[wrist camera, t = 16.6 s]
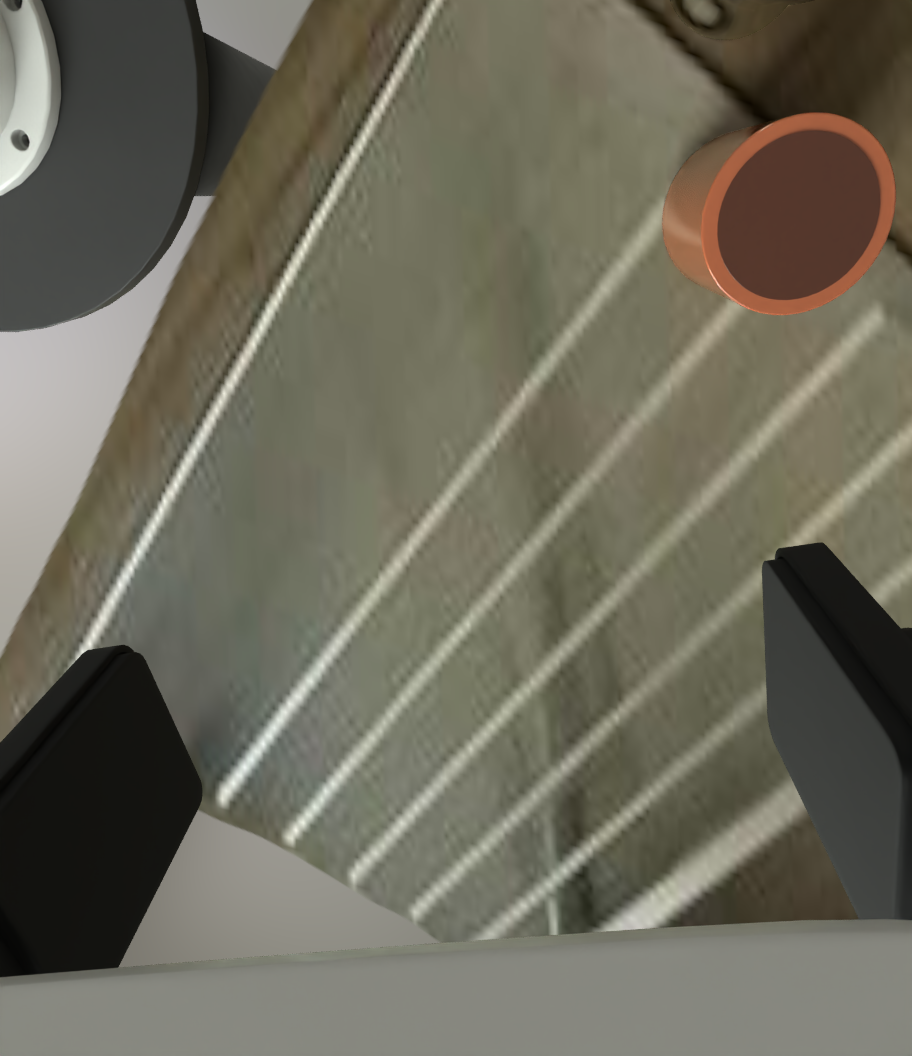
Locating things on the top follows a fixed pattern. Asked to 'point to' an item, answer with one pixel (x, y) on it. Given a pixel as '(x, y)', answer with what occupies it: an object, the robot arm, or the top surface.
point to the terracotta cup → (782, 212)
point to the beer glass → (729, 16)
